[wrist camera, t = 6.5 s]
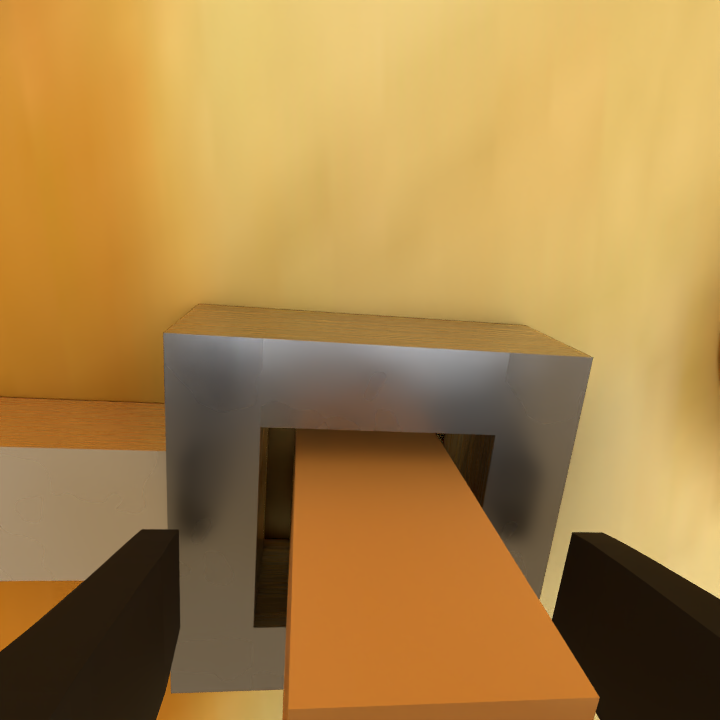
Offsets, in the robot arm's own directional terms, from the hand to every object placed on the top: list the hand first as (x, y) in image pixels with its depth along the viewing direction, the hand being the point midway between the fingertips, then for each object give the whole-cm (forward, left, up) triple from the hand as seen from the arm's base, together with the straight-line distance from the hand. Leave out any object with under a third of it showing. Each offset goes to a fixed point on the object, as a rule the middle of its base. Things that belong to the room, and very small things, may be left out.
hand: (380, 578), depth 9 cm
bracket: (+3, 0, -4) cm, 5 cm away
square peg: (0, 0, -4) cm, 4 cm away
